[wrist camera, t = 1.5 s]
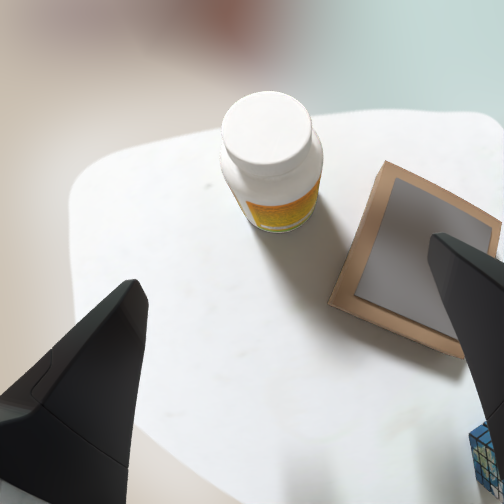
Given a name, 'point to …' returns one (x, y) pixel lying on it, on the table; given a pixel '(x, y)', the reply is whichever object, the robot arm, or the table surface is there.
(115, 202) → the table surface
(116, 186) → the table surface
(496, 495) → the puzzle
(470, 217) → the base block
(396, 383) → the table surface
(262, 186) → the supplement bottle
